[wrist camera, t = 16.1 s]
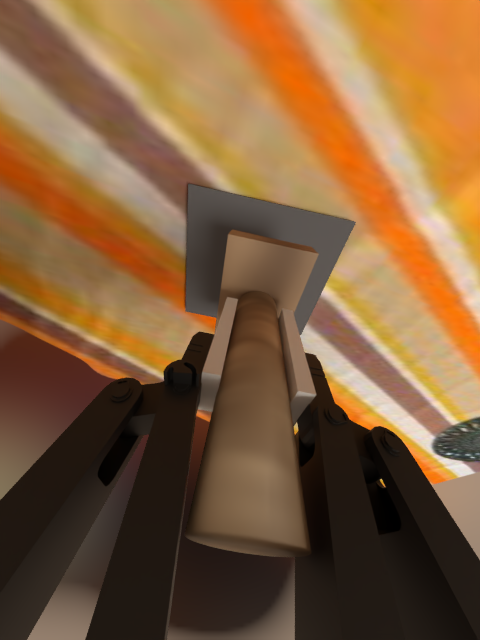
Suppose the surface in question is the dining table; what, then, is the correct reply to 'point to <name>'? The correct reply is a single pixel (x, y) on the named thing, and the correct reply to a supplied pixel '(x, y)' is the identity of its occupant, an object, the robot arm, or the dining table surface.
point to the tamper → (254, 410)
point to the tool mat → (260, 219)
